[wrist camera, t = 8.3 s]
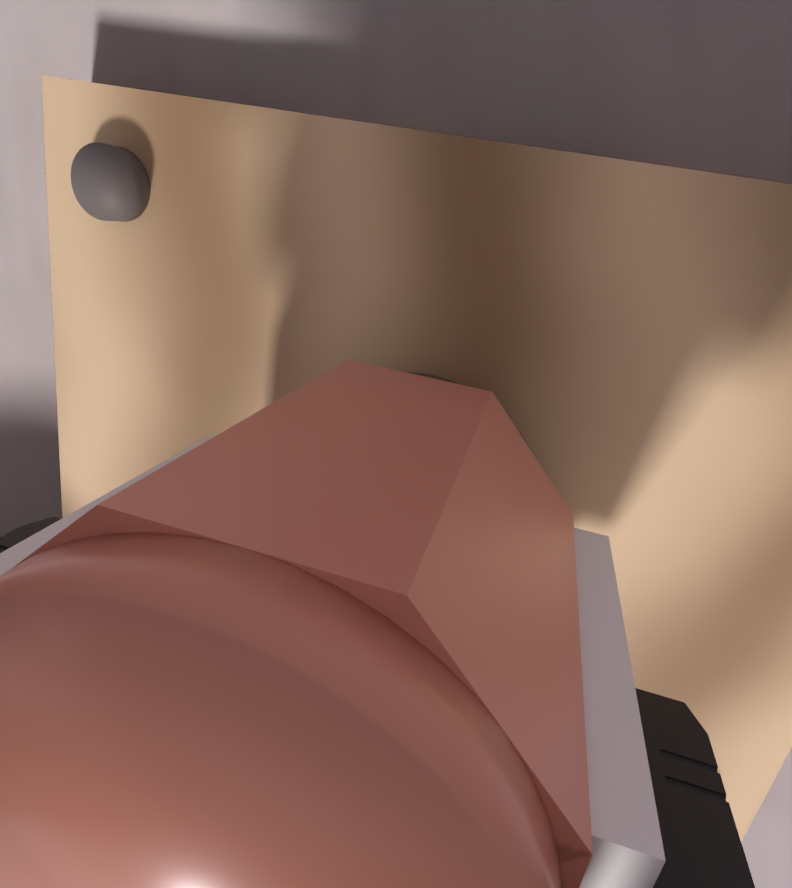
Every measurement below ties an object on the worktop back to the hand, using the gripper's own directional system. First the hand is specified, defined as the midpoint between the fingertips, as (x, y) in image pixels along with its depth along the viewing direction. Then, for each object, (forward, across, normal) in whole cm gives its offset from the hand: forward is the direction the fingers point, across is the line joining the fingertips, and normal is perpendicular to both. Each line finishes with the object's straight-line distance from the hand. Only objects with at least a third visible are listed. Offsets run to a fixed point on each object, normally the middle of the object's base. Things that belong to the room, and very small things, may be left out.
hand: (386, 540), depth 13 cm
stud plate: (+4, 0, 0) cm, 4 cm away
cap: (0, 0, 0) cm, 0 cm away
